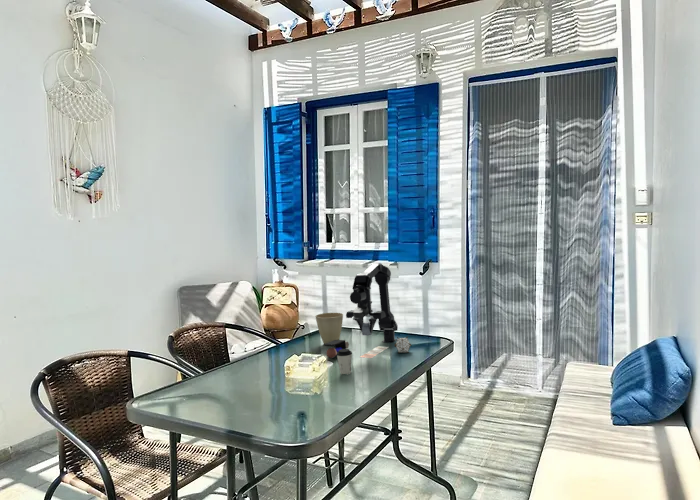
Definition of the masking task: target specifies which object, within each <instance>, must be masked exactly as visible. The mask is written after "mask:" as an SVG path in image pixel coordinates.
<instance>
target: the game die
mask: <svg viewBox="0 0 700 500" xmlns="http://www.w3.org/2000/svg"><path fill="white" fill-rule="evenodd" d="M396 338H397V340H396V341H395V345H394V347H396V350H397V352H398V354H400V353H408V354H409V353H410V348H411V346H412V343H410V341H409V339H408V338H409V336H406V337H399V336H396Z"/></svg>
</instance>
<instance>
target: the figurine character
mask: <svg viewBox="0 0 700 500" xmlns="http://www.w3.org/2000/svg"><path fill="white" fill-rule="evenodd" d="M322 346H323V347H324V346H327V347H328V346H331V347H329V348H328V349H327V350H326V352H325V353H326V356H327V357H328V358H330V359H334V358H336V357H337V355H336V354H337V352H339V350H340V349H349V347H350V343H349V342H348V341H346V339H339V340H333V341H331V342H328V343H326V344H324V343H323V345H322ZM332 346H333V347H332Z"/></svg>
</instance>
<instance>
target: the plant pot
mask: <svg viewBox="0 0 700 500" xmlns="http://www.w3.org/2000/svg"><path fill="white" fill-rule="evenodd" d="M315 320H316V326H317V329H318V332H319V336H320V338H321V340H322V342H323V344H326V343H328V342H331V341H333V340H340V336H341V334H342V333H341V332H342V328H343V320H344V313H343V312H342V313H341V312H325V313H324V312H323V313H319V314H316V315H315Z"/></svg>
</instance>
